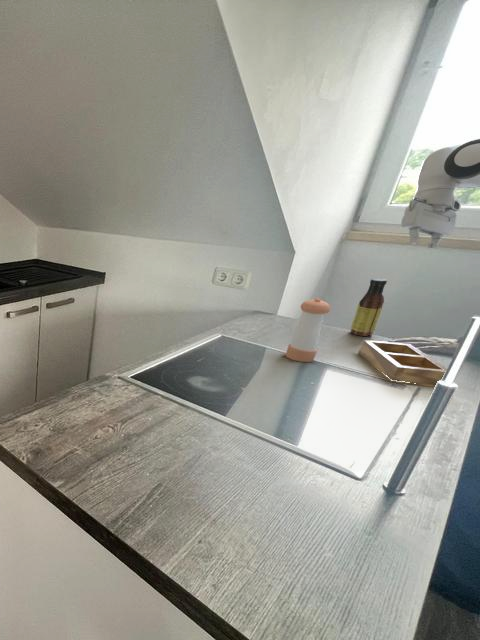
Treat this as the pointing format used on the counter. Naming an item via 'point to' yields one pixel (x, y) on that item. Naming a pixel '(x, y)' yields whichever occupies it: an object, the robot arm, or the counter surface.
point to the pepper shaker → (308, 331)
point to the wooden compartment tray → (402, 362)
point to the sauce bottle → (369, 309)
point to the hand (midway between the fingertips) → (423, 246)
